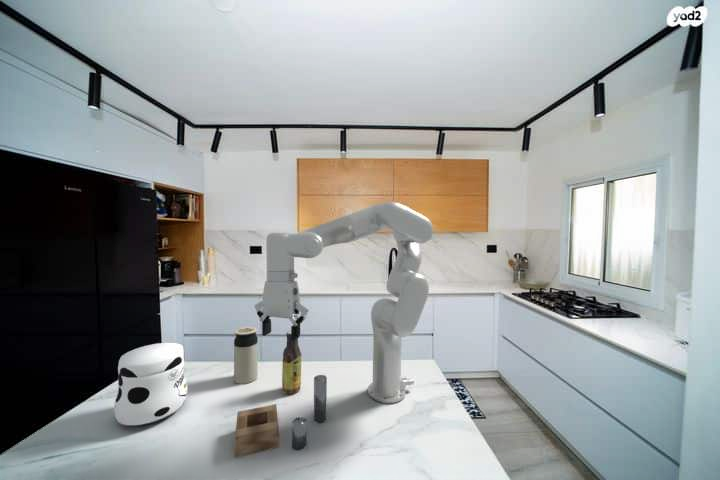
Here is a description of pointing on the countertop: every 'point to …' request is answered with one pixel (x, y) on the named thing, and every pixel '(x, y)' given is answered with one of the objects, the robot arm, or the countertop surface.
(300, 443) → the short pin
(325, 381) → the long pin
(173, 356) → the milk container
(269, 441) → the hole block
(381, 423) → the countertop surface
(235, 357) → the travel mug
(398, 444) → the countertop surface
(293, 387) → the sauce bottle
